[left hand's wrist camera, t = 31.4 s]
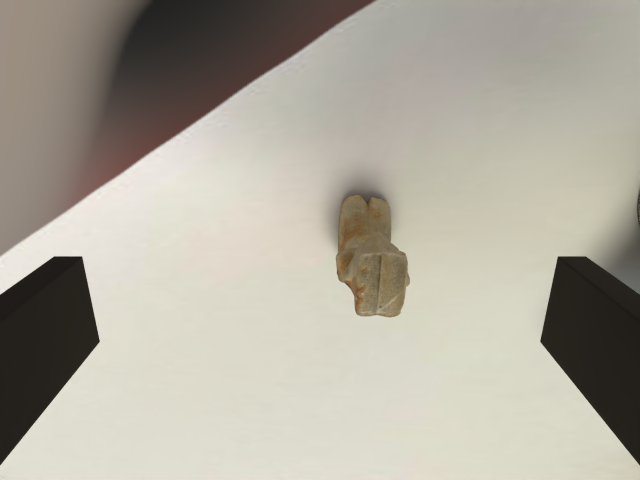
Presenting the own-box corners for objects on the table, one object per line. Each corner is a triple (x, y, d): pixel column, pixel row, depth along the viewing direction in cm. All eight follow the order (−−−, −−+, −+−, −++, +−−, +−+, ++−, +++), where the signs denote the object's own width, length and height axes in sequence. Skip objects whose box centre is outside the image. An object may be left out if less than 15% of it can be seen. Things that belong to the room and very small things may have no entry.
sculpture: (397, 196, 43) (433, 257, 29) (383, 263, 46) (411, 349, 32) (337, 188, 43) (346, 246, 29) (327, 256, 46) (330, 340, 32)
